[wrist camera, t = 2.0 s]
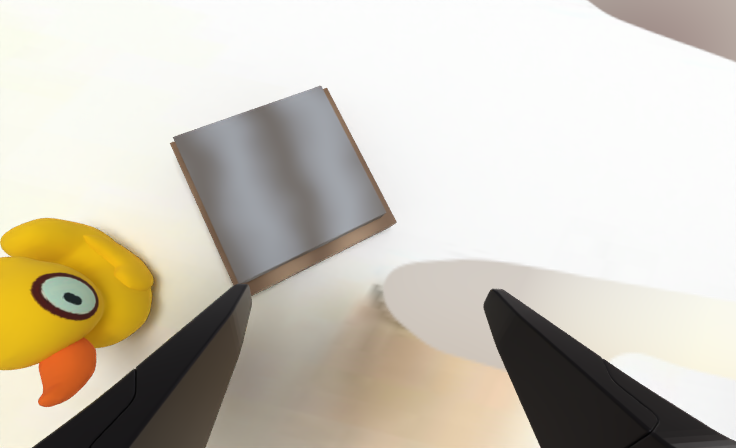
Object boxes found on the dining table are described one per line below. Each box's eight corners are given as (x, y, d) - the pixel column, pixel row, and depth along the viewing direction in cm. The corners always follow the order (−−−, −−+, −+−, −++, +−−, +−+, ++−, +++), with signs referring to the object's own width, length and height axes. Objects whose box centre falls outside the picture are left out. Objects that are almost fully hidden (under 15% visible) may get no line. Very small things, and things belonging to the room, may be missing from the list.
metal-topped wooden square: (249, 296, 22) (230, 303, 18) (186, 155, 24) (153, 130, 19) (390, 226, 25) (403, 218, 21) (327, 104, 27) (326, 71, 22)
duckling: (198, 329, 22) (88, 380, 12) (132, 372, 20) (-50, 467, 11) (130, 215, 22) (-26, 173, 12) (62, 249, 21) (-167, 233, 11)
